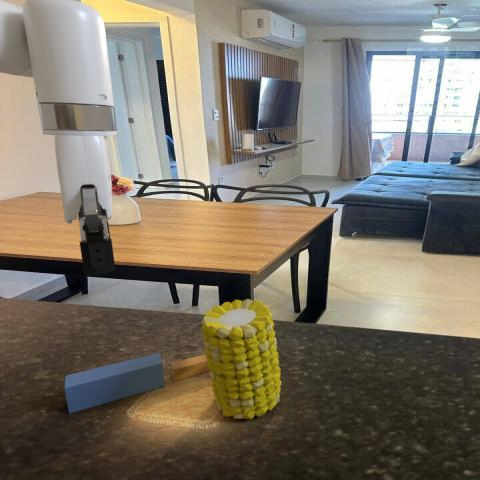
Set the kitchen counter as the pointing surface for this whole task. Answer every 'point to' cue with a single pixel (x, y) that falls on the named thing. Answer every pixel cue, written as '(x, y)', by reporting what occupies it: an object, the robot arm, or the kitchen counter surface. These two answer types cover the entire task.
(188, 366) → the tan wooden bar
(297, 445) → the kitchen counter surface
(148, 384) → the blue stick
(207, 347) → the food
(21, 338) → the kitchen counter surface
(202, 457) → the kitchen counter surface
